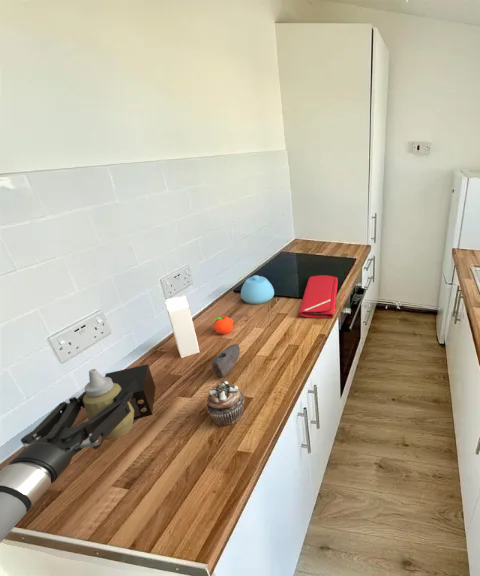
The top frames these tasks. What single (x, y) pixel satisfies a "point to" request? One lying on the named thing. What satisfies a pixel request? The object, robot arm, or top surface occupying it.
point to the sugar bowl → (257, 290)
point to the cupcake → (225, 404)
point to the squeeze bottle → (105, 401)
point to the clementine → (223, 324)
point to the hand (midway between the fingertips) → (119, 383)
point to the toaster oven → (144, 393)
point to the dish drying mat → (319, 297)
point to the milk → (182, 326)
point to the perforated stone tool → (225, 360)
